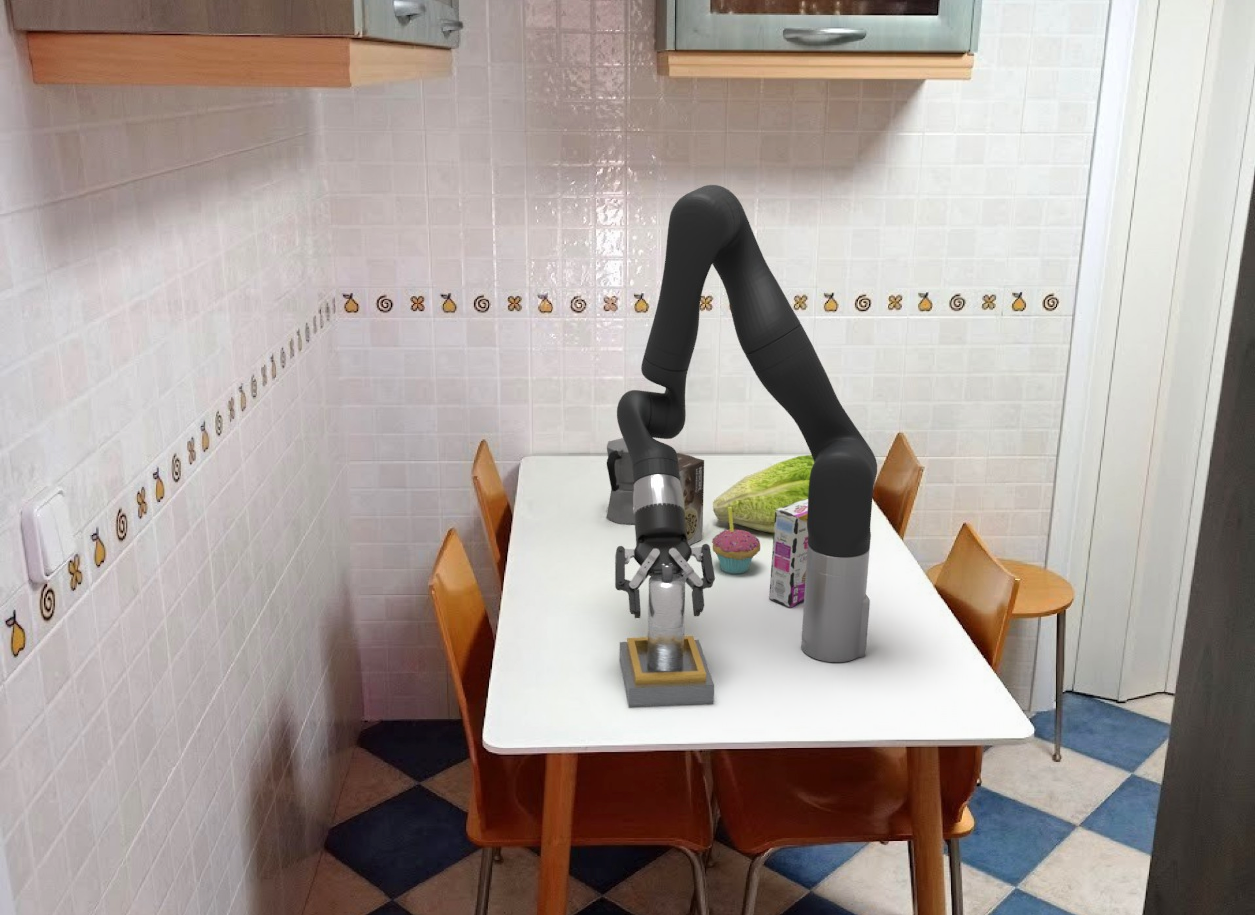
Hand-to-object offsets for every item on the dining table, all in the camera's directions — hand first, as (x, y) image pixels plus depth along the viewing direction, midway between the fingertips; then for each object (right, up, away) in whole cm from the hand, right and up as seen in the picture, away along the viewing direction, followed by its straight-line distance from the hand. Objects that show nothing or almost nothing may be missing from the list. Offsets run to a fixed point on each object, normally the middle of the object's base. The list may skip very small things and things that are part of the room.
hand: (667, 615), depth 171 cm
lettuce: (+23, +9, +64) cm, 69 cm away
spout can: (0, -7, +4) cm, 8 cm away
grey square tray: (0, -10, +5) cm, 11 cm away
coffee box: (+3, +6, +56) cm, 56 cm away
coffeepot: (-6, +10, +67) cm, 68 cm away
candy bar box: (+24, -1, +34) cm, 41 cm away
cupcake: (+14, +2, +44) cm, 46 cm away
